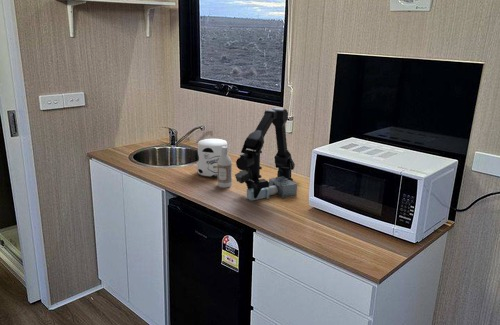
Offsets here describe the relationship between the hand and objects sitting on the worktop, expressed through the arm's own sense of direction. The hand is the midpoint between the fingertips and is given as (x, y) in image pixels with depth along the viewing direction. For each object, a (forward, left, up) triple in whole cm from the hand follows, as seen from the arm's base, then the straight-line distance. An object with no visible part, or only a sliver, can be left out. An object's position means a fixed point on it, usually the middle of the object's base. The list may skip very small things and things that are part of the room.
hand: (253, 196), depth 201 cm
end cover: (-6, 0, -1) cm, 6 cm away
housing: (-16, 0, -1) cm, 16 cm away
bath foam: (+4, -22, -1) cm, 22 cm away
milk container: (+2, -40, -2) cm, 40 cm away
